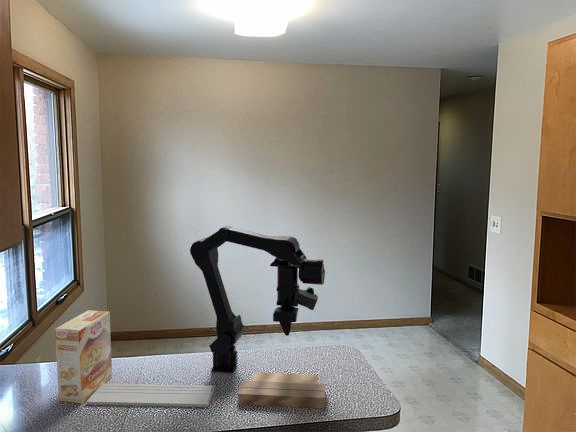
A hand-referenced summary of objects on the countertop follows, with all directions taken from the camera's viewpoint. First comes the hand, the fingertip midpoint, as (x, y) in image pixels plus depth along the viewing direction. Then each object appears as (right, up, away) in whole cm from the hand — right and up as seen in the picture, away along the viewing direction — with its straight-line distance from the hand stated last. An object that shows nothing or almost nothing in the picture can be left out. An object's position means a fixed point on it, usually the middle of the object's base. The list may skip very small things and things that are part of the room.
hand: (287, 335), depth 134 cm
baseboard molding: (-35, -14, -9) cm, 39 cm away
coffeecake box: (-54, -13, -7) cm, 56 cm away
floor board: (-1, -14, -12) cm, 18 cm away
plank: (-1, -13, -5) cm, 14 cm away
